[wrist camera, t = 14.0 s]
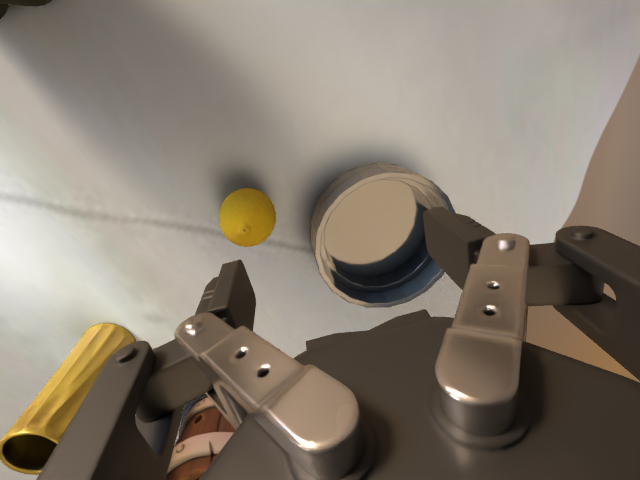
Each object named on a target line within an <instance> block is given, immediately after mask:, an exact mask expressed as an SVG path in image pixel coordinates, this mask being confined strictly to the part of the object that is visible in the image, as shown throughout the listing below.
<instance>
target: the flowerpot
mask: <svg viewBox="0 0 640 480" xmlns="http://www.w3.org/2000/svg"><path fill="white" fill-rule="evenodd" d="M234 432H235V429H234V428H233V426H232V425H231V424H230V423H229V421H228V420H227V419H226V418H225V417H224V416H223V414H222V413H221V412H220V411H219V410H218V409H217V407H216V406H215V405H214V404H213V403H212V402H211V400H210V399H209V398H208V397H205V398H204V399H202V400H201V401H199V402H198V403H197V404H195V405H194V406H193V407H192V408H191V410H190V411H189V412H188V414H187V416H186V417H185V419H184V421H183V422H182V424H181V427H180V430H179V439H178V440H177V442H176V444H175V446H174V448H173V452H172V456H171V460H170V464H169V468H168V472H167V476H166V480H199V479H200V478H201V476H202V475H203V474H204V472H205V471H206V470H207V468H208V467H209V465H210V464H211V463H212V461H213V460H214V459H215V457H216V456H217V455H218V453H219V452H220V451H221V449H222V448H223V447H224V445H225V444H226V443H227V441H228V440H229V439H230V437H231V436H232V435H233V433H234Z"/></svg>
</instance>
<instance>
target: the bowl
mask: <svg viewBox="0 0 640 480" xmlns="http://www.w3.org/2000/svg"><path fill="white" fill-rule="evenodd" d="M441 206H442V207H444V208H445V209H447V210H448V211H450V212H451V213H453V214H456V213H455V211H454V209H453V207H452V204H451V202H450V200H449V198H448V196H447V195H446V194H445V193H444V192H443V191H442V190H441V189H440V188H438V187H437V186H436V185H435V184H434V183H433V182H432V181H430V180H428V179H426V178H424V177H422V176H420V175H418V174H416V173H414V172H412V171H409V170H407V169H404V168H402V167H400V166H397V165H394V164H378V163H374V164H369V165H365V166H362V167H358V168H354V169H351V170H350V171H348V172H347V173H345V174H344V175H342V176H341V177H339V178H338V179H336V180H334V182H332V183H331V185H330V186H329V187H328V188H327V189H326V191H325V192H324V193H323V194H322V195H321V197H320V198H319V200H318V203H317V205H316V207H315V210H314V212H313V215H312V218H311V231H310V239H311V243H312V247H313V251H314V254H315V258H316V262H317V265H318V269H319V272H320V275H321V276H322V278H323V279H324V281H325V282H326V283H327V285H328V286H329V287H330V289H331V290H332V291H333V292H335V293H336V294H337V295H339V296H340V297H342V298H343V299H345V300H346V301H348V302H350V303H354V304H357V305H361V306H364V307H391V306H395V305H398V304H402V303H405V302H408V301H410V300H412V299H414V298H416V297H417V296H419V295H421V294H422V293H424V292H426V291H427V290H428V289H429V288H430V287H431V286H432V285H433V284H434V283H435V282H436V281H437V280H438V279H439V278H441V277H442V275H443V274H444V272H445V271H444V270H443V269H442V268H441V267H440V266H439V265H438V264H437V263H436V262H435V261H434V260H433V259H432V258H431V256H430V254H429V252H428V250H427V246H426V238H425V230H424V221H423V212H424V211H426V210H429V209H433V208H437V207H441Z"/></svg>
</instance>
